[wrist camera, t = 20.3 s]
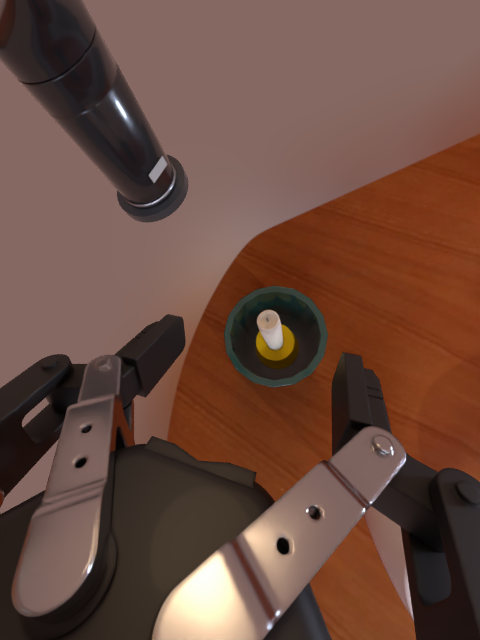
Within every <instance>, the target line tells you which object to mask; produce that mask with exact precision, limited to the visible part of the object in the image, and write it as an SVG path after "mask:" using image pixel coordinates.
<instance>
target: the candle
mask: <svg viewBox="0 0 480 640" xmlns="http://www.w3.org/2000/svg"><path fill="white" fill-rule="evenodd" d="M257 325H258V328H259V330H260V331H259V333H258V335H257V338H256V347H255V349H256V354H257V356H258V359H259V360H260V361H261V362H262V363H263V364H264V365H265V366H267V367H269V368H272V369H284V368H286V367H288V366H290V365H291V364H292V363H293V362H294V361H295V359H296V358H297V355H298V352H299V345H298V340H297V338H296V336H295V335H294V334H293V333H292V332H291V331H290V330H289V328H288V327H286V326H285V325H282V324H281V321H280V318H279V316H278V314H277V313H276V312H275V311H273V310H265V311H263V312H261V313H260V314H259V316H258V318H257Z"/></svg>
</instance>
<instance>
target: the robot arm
mask: <svg viewBox="0 0 480 640" xmlns="http://www.w3.org/2000/svg"><path fill="white" fill-rule="evenodd" d="M0 61H1V62H2V63H3V64H4V65H5V66H6V68H7V69H8V70H9V71H10V72H11V73H12V74H13V75H14V76H15V77H16V78H17V80H18V81H19V82H20V83H21V84H22V85H23V86H24V87H25V89H26V90H27V91H28V92H29V93H30V94H31V95H32V96H33V97H34V99H35V100H36V101H37V102H38V103H39V104H40V105H41V106H42V107H43V108H44V110H45V111H46V112H47V113H48V114H49V115H50V116H51V117H52V118H53V119H54V120H55V122H56V123H57V124H58V125H59V126H60V127H61V128H62V129H63V130H64V132H65V133H66V134H67V135H68V136H69V137H70V138H71V139H72V140H73V141H74V142H75V144H76V145H77V146H78V147H79V148H80V149H81V150H82V151H83V153H84V154H85V155H86V156H87V157H88V158H89V159H90V160H91V161H92V163H93V164H94V165H95V166H96V167H97V168H98V169H99V170H100V171H101V173H102V174H103V175H104V176H105V177H106V178H107V179H108V180H109V181H110V183H111V184H112V185H113V186H114V187H115V188H116V189H117V190H118V191H119V193H120V194H121V195H122V196H123V198H124V199H125V200H126V201H127V202H128V204H130V205H131V206H132V207H134V208H137V209H150V208H154V207H156V206H158V205H160V204H162V203H163V202H164V201H166V200H167V199H168V198H169V196H170V195H171V194H172V192H173V191H174V189H175V186H176V182H177V174H176V171H175V169H174V167H173V165H172V163H171V162H170V161H169V159H168V157H167V155H166V153H165V152H164V150H163V148H162V146H161V144H160V142H159V140H158V138H157V137H156V135H155V133H154V131H153V129H152V127H151V125H150V124H149V122H148V120H147V118H146V116H145V114H144V112H143V111H142V109H141V107H140V105H139V103H138V101H137V100H136V98H135V96H134V94H133V92H132V90H131V89H130V87H129V85H128V83H127V81H126V79H125V77H124V75H123V74H122V72H121V70H120V68H119V66H118V65H117V63H116V61H115V59H114V57H113V55H112V54H111V52H110V50H109V48H108V47H107V45H106V43H105V41H104V39H103V37H102V35H101V33H100V32H99V30H98V28H97V26H96V24H95V22H94V20H93V18H92V16H91V15H90V13H89V11H88V9H87V7H86V5H85V4H84V2H83V0H0ZM184 347H185V332H184V322H183V319H182V317H179V316H174V315H169V314H168V315H166V316H165V317H163V319H161V320H160V321H159V322H155V323H152V324H151V325H148V326H147V327H146V328H144V329H143V330H142V331H141V333H139V334H138V335H137V336H135V338H133V339H132V340H131V341H130V342H128V343H127V344H126V345H125V346H124V347H123V348H122V349H120V350H119V351H118V352H117V353H116V354H115V355H104V356H100V357H98V358H95V359H94V360H92V361H91V362H90V363H89V364H72V363H71V361H70V359H69V357H68V356H66V355H63V354H57V355H51V356H48V357H45V358H43V359H41V360H39V361H38V362H36V363H35V364H34V365H32V366H31V367H29V368H28V369H27V370H25V371H24V372H22V373H21V374H20V375H18V376H17V377H16V378H14V379H13V380H11V381H10V382H9V383H7V384H6V385H4V386H3V387H2V388H0V507H1V505H2V503H3V500H4V498H5V497H6V495H7V494H8V493H9V492H10V491H11V490H12V489H13V488H14V487H15V486H16V485H17V483H18V482H19V481H20V480H21V479H22V478H23V477H24V476H25V475H26V474H27V473H28V472H29V470H30V469H31V468H32V467H33V466H34V465H35V464H36V463H37V462H38V461H39V459H41V457H42V456H43V455H44V454H45V453H46V452H47V451H48V450H49V449H50V448H51V446H53V444H54V443H55V442H56V441H57V440H58V439H59V441H58V445H57V449H56V453H55V456H54V460H53V464H52V468H51V471H50V475H49V478H48V482H47V486H46V490H45V491H43V492H41V493H39V494H37V495H35V496H33V497H32V498H30V499H28V500H26V501H24V502H22V503H21V504H19V505H17V506H15V507H13V508H11V509H10V510H8V511H6V512H4V513H2V514H0V640H332V639H331V637H330V634H329V632H328V629H327V627H326V624H325V622H324V619H323V616H322V614H321V611H320V609H319V606H318V604H317V601H316V599H315V596H314V593H313V591H312V588H311V586H310V583H309V582H310V581H311V579H312V578H313V577H314V576H315V574H316V573H317V572H318V571H319V569H320V568H321V567H322V566H323V564H324V563H325V562H326V561H327V559H328V558H329V557H330V556H331V555H332V553H333V552H334V551H335V550H336V548H337V547H338V546H339V545H340V543H341V542H342V541H343V540H344V538H345V537H346V536H347V535H348V533H349V532H350V531H351V530H352V528H353V527H354V526H355V525H356V523H357V522H358V521H359V520H360V518H361V517H362V516H363V515H364V514H365V512H366V511H367V510H368V509H369V507H370V506H372V507H373V508H375V509H376V510H377V511H379V512H380V513H382V514H383V515H385V516H386V517H388V518H389V519H390V520H392V521H393V522H395V523H396V524H398V525H399V526H400V527H401V534H402V541H403V548H404V555H405V562H406V569H407V576H408V583H409V590H410V597H411V604H412V611H413V618H414V625H415V632H416V639H417V640H480V482H479V481H477V480H476V479H475V478H473V477H472V476H470V475H469V474H467V473H465V472H463V471H460V470H457V469H454V468H445V469H442V470H441V471H440V472H437V471H435V470H433V469H431V468H430V467H428V466H426V465H424V464H422V463H421V462H419V461H417V460H415V459H414V458H412V457H411V456H409V455H408V454H407V453H406V452H405V450H404V448H403V446H402V444H401V443H400V442H399V440H398V439H397V438H396V437H395V436H394V435H392V432H391V428H390V424H389V420H388V415H387V411H386V407H385V402H384V400H383V394H382V392H381V390H382V389H381V385H380V381H379V379H378V377H377V376H376V375H375V373H374V372H373V371H372V370H370V369H365V368H363V362H362V357H361V356H359V355H355V354H350V353H345V352H343V353H342V355H341V357H340V360H339V363H338V366H337V369H336V372H335V374H334V378H333V382H332V456H333V457H332V458H331V459H329V460H328V461H325V460H323V461H321V462H320V463H318V464H317V465H316V466H315V467H314V468H313V469H312V470H311V471H309V472H308V473H307V474H306V475H305V476H304V477H303V478H302V479H301V480H299V481H298V482H297V483H296V484H295V485H294V486H293V487H292V488H291V489H289V490H288V491H287V492H286V493H285V494H284V495H283V496H282V497H281V498H280V499H278V500H277V501H276V502H275V501H274V499H273V498H272V497H271V496H270V494H269V493H268V492H267V491H266V490H265V489H264V488H263V487H262V486H261V485H259V484H258V483H256V482H255V478H256V472H253V471H251V470H248V469H245V468H242V467H239V466H236V465H233V464H231V463H224V462H208V461H198V460H196V459H195V458H193V457H192V456H191V455H189V454H188V453H187V452H185V451H184V450H183V449H181V448H180V447H179V446H177V445H176V444H173V443H171V442H168V441H165V440H162V439H159V438H156V437H153V436H152V437H151V438H150V440H149V441H148V443H147V444H138V445H135V442H134V402H133V399H134V397H135V396H136V395H140V396H143V397H146V396H147V395H148V394H149V393H150V391H151V390H152V389H153V388H154V386H155V385H156V384H157V383H158V381H159V380H160V379H161V378H162V376H163V375H164V374H165V373H166V371H167V370H168V369H169V368H170V366H171V365H172V364H173V363H174V361H175V360H176V359H177V357H178V356H179V355H180V354H181V352H182V351H183V349H184ZM45 397H46V399H47V400H48V402H49V405H48V406H46V407H45V408H44V409H43V410H42V411H41V412H40V413H39V414H37V416H35V417H34V418H33V419H32V420H31V421H30V422H29V423H28V424H27V425H26V426H24V427H22V420H23V418H24V417H25V415H26V414H27V413H28V412H29V411H30V410H32V409H33V408H34V407H35V406H36V405H37V404H38V403H40V402H41V401H42V400H43V399H44V398H45Z"/></svg>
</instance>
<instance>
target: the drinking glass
mask: <svg viewBox="0 0 480 640" xmlns="http://www.w3.org/2000/svg"><path fill="white" fill-rule="evenodd" d="M364 518H365V520H366V523H367V526H368V528H369V531H370V533H371V536H372V539H373V541H374V544H375V546H376V549H377V551H378V554H379V556H380V559H381V561H382V563H383V565H384V567H385V569H386V572H387V574H388V576H389V578H390V580H391V582H392V584H393V586H394V588H395V589H396V591H397V593H398V595H399V597H400V599H401V600H402V602H403V604H404V606H405V607H406V609H407V611H408V613H409V614H410V616H411V618H412V620H413V621H414V618H413V611H412V604H411V597H410V590H409V583H408V576H407V569H406V562H405V555H404V548H403V541H402V534H401V527H400V526H399V525H398V524H396V523H395V522H393V521H392V520H390V519H389V518H388V517H386V516H385V515H383V514H382V513H380V512H379V511H377V510H376V509H375V508H373V507H372V506H370V507H369V509H368V510H367V511H366V512H365V514H364Z"/></svg>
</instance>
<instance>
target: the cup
mask: <svg viewBox="0 0 480 640" xmlns="http://www.w3.org/2000/svg"><path fill="white" fill-rule="evenodd" d="M265 310H273V311H275V312H276V313H277V314H278V316H279V318H280V321H281V324H282V325H285V326H286V327H288V328H289V330H290V331H291V332H292V333H293V334H294V335H295V336H296V338H297V340H298V345H299V352H298V355H297V358H296V359H295V361H294V362H293V363H292V364H291V365H290V366H288V367H286V368H284V369H272V368H269V367H267V366H265V365H264V364H263V363H262V362H261V361H260V360H259V359H258V356H257V354H256V349H255V347H256V338H257V335H258V333H259V331H260V330H259V328H258V325H257V318H258V316H259V314H260V313H261V312H263V311H265ZM224 338H225V345H226V352H227V354H228V356H229V358H230V360H231V361H232V363H233V365H234V367H235V368H236V369H237V371H239V372H240V373H241V374H243V375H244V376H245V377H247V378H248V379H249V380H250V381H252V382H254V383H258V384H261V385H265V386H269V387H280V386H287V385H293V384H296V383H297V382H299V381H300V380H302V379H304V378H305V377H307V376H308V375H310V374H312V373H313V371H314V370H315V368H316V367H317V366H318V364H319V363H320V361H321V360H322V358H323V357H324V354H325V349H326V343H327V338H328V333H327V329H326V325H325V321H324V317H323V314H322V313H321V312H320V310H319V309H318V308H317V306H316V305H315V304H314V302H313V301H312V300H311V299H310V298H309V297H307V296H305V295H304V294H302V293H300V292H299V291H297V290H295V289H292V288H286V287H280V286H270V287H265V288H261V289H256V290H254V291H253V292H251V293H250V294H248V295H247V296H245V297H244V298H242V299H240V300H239V302H238V303H237V304H236V306H235V307H234V309H233V310H232V311H231V313H230V314H229V316H228V320H227V323H226V327H225V331H224Z"/></svg>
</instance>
